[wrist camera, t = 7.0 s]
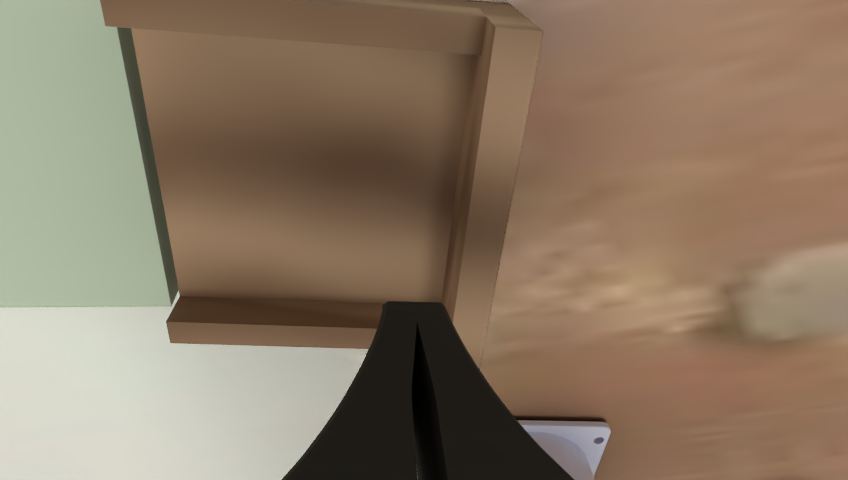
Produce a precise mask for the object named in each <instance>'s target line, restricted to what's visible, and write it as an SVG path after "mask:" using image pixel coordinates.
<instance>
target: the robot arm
mask: <svg viewBox="0 0 848 480" xmlns="http://www.w3.org/2000/svg"><path fill="white" fill-rule="evenodd" d="M610 434H611V430H610V428H609V426H608V424H607V423H605V422H589V421H535V420H516V419H515V417H514V416H513V415H512V414H511V413H510V411H509V410H508V409H507V408H506V406H505V405H504V404H503V402H502V401H501V400H500V398H499V397H498V396H497V394H496V393H495V392H494V390H493V389H492V387H491V386H490V385H489V383H488V382H487V380H486V379H485V377H484V376H483V374H482V373H481V371H480V370H479V368H478V367H477V365H476V364H475V362H474V360H473V359H472V357H471V356H470V354H469V352H468V351H467V349H466V347H465V345H464V344H463V342H462V340H461V338H460V336H459V335H458V333H457V331H456V329H455V327H454V325H453V323H452V321H451V319H450V317H449V314H448V312H447V310H446V307H445V306H444V305H443V304H442V303H439V302H402V301H387V302H386V303H385V304H383V307H382V314H381V318H380V322H379V325H378V328H377V331H376V333H375V336H374V339H373V341H372V344H371V346H370V348H369V350H368V352H367V355H366V357H365V359H364V361H363V363H362V365H361V367H360V369H359V371H358V373H357V375H356V377H355V378H354V380H353V382H352V384H351V386H350V387H349V389H348V391H347V393H346V395H345V396H344V398H343V399H342V401H341V403H340V404H339V406H338V407H337V409H336V411H335V412H334V414H333V415H332V416H331V418H330V419H329V421H328V422H327V424H326V425H325V427H324V428H323V429H322V431H321V432H320V433H319V435H318V436H317V437H316V439H315V440H314V441H313V443H312V444H311V445H310V447H309V448H308V449H307V451H306V452H305V453H304V454H303V456H302V457H301V458H300V459H299V461H298V462H297V463H296V464H295V465H294V466H293V468H292V469H291V470H290V471H289V472H288V473H287V474H286V475H285V476H284V478H283V479H282V480H595V479H594V475H595V472H596V470H597V467H598V464H599V462H600V459H601V457H602V454H603V452H604V449H605V447H606V444H607V441H608V439H609V436H610ZM416 466H417V467H416ZM417 474H418V478H417Z"/></svg>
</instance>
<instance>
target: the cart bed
mask: <svg viewBox="0 0 848 480" xmlns="http://www.w3.org/2000/svg"><path fill="white" fill-rule="evenodd" d="M100 3H101V7H102V12H103V17H104V22H105V26H109V27H122V28H131V30H132V36H133V41H134V47H135V52H136V58H137V63H138V69H139V74H140V79H141V85H142V90H143V96H144V101H145V107H146V112H147V118H148V123H149V129H150V134H151V140H152V145H153V151H154V156H155V161H156V167H157V172H158V178H159V183H160V189H161V194H162V200H163V205H164V211H165V216H166V222H167V227H168V233H169V238H170V243H171V249H172V254H173V260H174V265H175V271H176V276H177V282H178V287H179V293H180V297H179V299H178V301H177V303H176V305H175V307H174V308H173V310H172V312H171V314H170V316H169V318H168V319H167V321H166V323H167V328H168V333H169V338H170V343H188V344H222V345H256V346H290V347H324V348H358V349H369V348H370V346H371V344H372V341H373V339H374V336H375V333H376V331H377V328H378V325H379V322H380V318H381V314H382V307H383V304H385V303H386V302H387V301H402V302H439V303H442V304H443V305H444V306H445V307H446V310H447V312H448V314H449V317H450V319H451V321H452V323H453V325H454V327H455V329H456V331H457V333H458V335H459V336H460V338H461V340H462V342H463V344H464V345H465V347H466V349H467V351H468V352H469V354H470V356H471V357H472V359H473V360H474V362H475V364H476V365H477V367H478V368H479V370H480V365H481V360H482V355H483V349H484V344H485V339H486V333H487V328H488V323H489V317H490V312H491V307H492V302H493V296H494V291H495V286H496V280H497V275H498V270H499V264H500V259H501V254H502V249H503V243H504V238H505V233H506V227H507V222H508V217H509V211H510V206H511V201H512V195H513V190H514V185H515V180H516V174H517V169H518V164H519V158H520V153H521V148H522V142H523V137H524V132H525V126H526V121H527V116H528V111H529V105H530V100H531V95H532V89H533V84H534V79H535V73H536V68H537V63H538V57H539V52H540V47H541V42H542V36H543V31H542V30H541V29H540V28H539V27H538V26H536V25H535V24H534V23H533V22H531V21H530V20H529V19H528V18H527V17H525V16H524V15H523V14H522V13H520V12H519V11H518V10H517V9H515V8H514V7H513V6H512V5H511V4H505V3H493V2H482V1H470V0H100Z"/></svg>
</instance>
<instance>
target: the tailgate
mask: <svg viewBox="0 0 848 480" xmlns="http://www.w3.org/2000/svg"><path fill="white" fill-rule="evenodd" d="M178 290H179V287H178V282H177V276H176V271H175V265H174V260H173V254H172V249H171V243H170V238H169V233H168V227H167V222H166V216H165V211H164V205H163V200H162V194H161V189H160V183H159V178H158V172H157V167H156V161H155V156H154V151H153V145H152V140H151V134H150V129H149V123H148V118H147V112H146V107H145V101H144V96H143V90H142V85H141V79H140V74H139V69H138V63H137V58H136V52H135V47H134V41H133V36H132V30H131V28H122V27H109V26H105V22H104V17H103V12H102V7H101V3H100V0H0V307H139V306H172V304H173V301H174V299H175V297H176V294H177V292H178Z"/></svg>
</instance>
